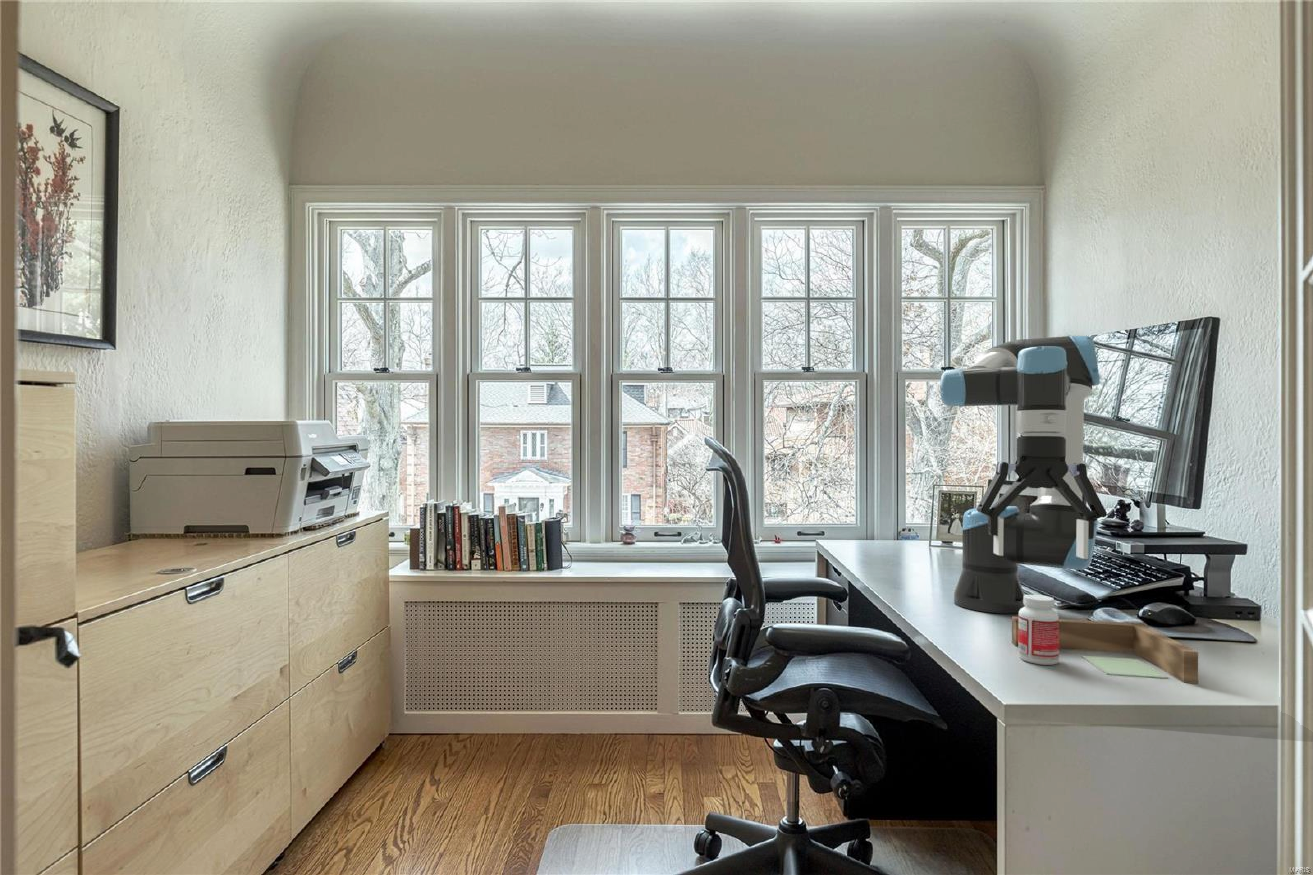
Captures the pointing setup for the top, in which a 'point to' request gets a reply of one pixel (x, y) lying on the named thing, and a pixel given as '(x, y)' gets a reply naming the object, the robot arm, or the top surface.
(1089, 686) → the top surface
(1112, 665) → the pad
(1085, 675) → the top surface
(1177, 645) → the corner barrier
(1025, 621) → the pill bottle
